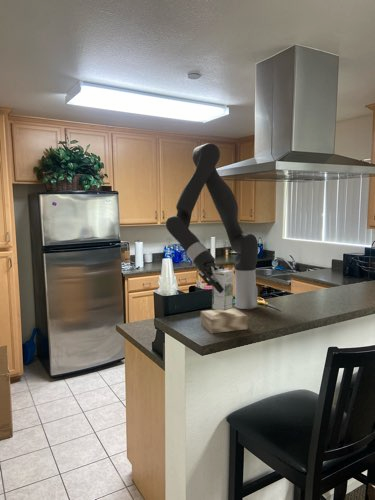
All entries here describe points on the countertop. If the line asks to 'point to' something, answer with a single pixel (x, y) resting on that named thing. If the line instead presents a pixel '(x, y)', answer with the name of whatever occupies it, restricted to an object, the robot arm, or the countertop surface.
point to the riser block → (223, 320)
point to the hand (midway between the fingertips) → (226, 290)
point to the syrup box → (226, 296)
